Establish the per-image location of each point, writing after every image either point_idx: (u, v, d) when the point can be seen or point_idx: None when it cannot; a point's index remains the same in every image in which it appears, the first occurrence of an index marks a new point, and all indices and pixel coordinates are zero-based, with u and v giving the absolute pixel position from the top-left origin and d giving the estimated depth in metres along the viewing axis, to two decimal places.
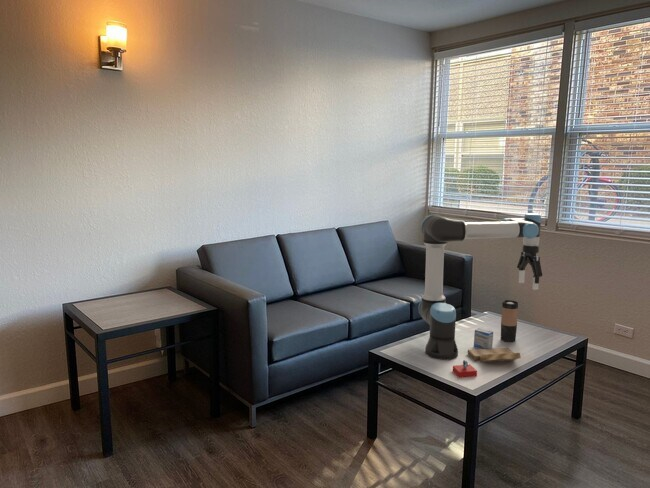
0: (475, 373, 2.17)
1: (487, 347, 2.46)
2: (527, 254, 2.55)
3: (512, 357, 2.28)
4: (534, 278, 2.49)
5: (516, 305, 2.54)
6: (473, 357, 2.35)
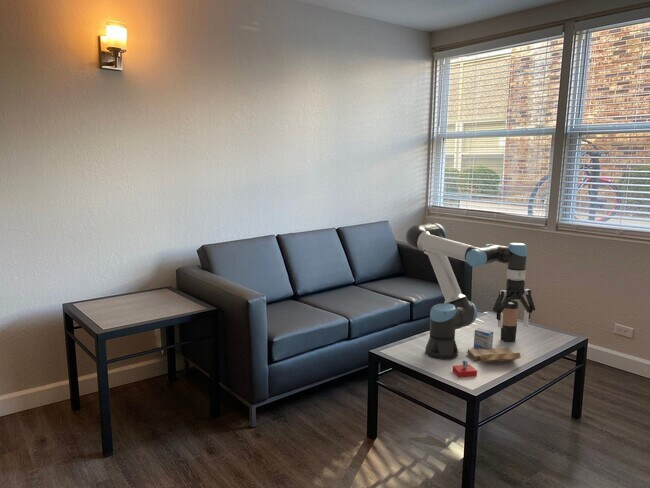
0: (475, 373, 2.18)
1: (487, 347, 2.46)
2: None
3: (512, 357, 2.28)
4: None
5: (516, 305, 2.54)
6: (473, 357, 2.35)
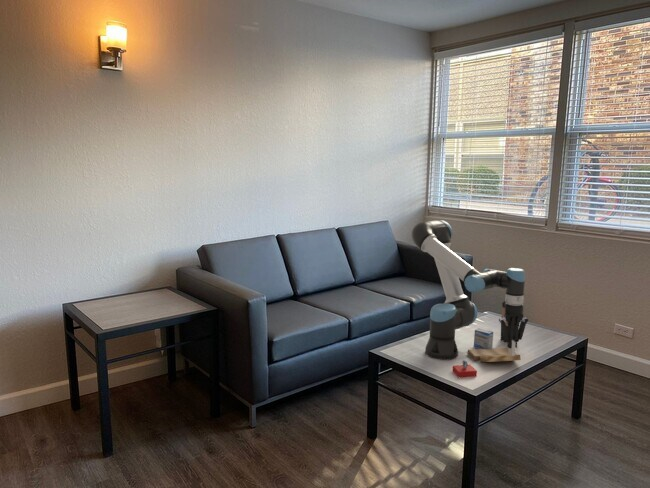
0: (474, 373, 2.18)
1: (487, 347, 2.46)
2: None
3: (512, 359, 2.28)
4: None
5: None
6: (473, 357, 2.35)
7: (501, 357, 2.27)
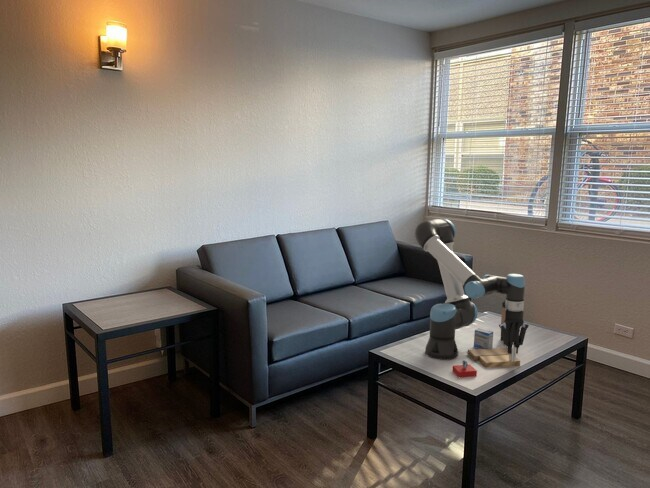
0: (474, 373, 2.18)
1: (487, 347, 2.46)
2: None
3: (511, 365, 2.28)
4: None
5: None
6: (473, 357, 2.35)
7: (501, 363, 2.27)
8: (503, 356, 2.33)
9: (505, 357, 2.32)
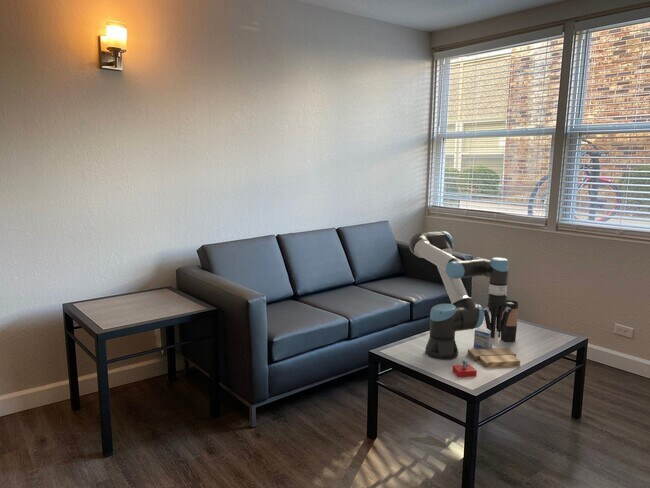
0: (474, 373, 2.18)
1: (487, 347, 2.46)
2: None
3: (511, 365, 2.28)
4: None
5: (516, 305, 2.54)
6: (473, 357, 2.35)
7: (501, 363, 2.27)
8: (503, 356, 2.33)
9: (505, 357, 2.32)
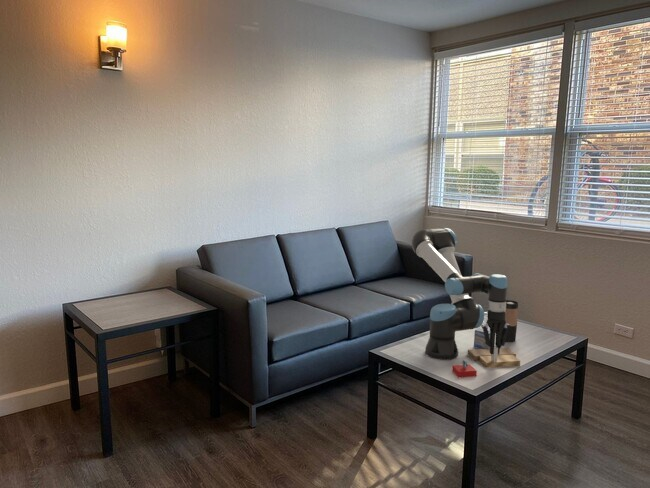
0: (474, 373, 2.18)
1: (487, 347, 2.46)
2: None
3: (511, 365, 2.28)
4: None
5: (516, 305, 2.54)
6: (473, 357, 2.35)
7: (501, 363, 2.27)
8: (503, 356, 2.33)
9: (505, 357, 2.32)
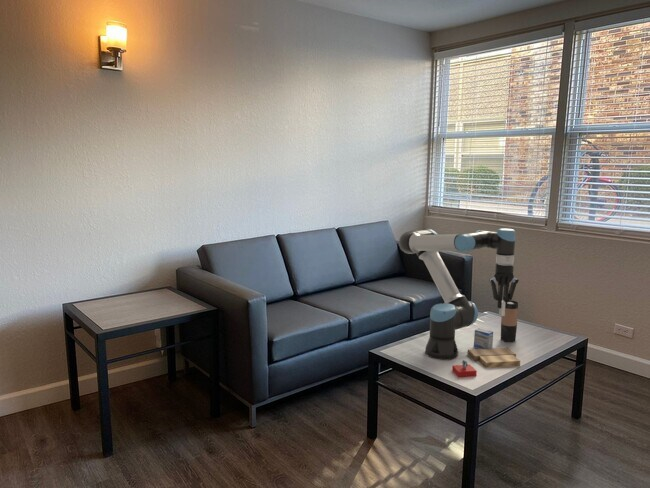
0: (474, 373, 2.18)
1: (487, 347, 2.46)
2: None
3: (511, 365, 2.28)
4: None
5: (516, 305, 2.54)
6: (473, 357, 2.35)
7: (501, 363, 2.27)
8: (503, 356, 2.33)
9: (505, 357, 2.32)
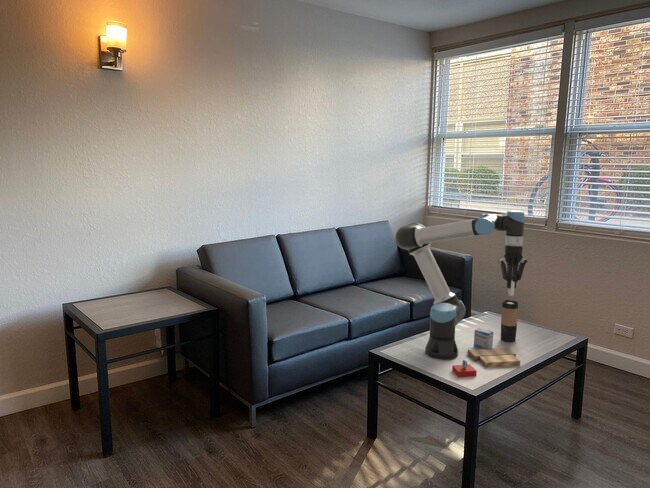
0: (474, 373, 2.18)
1: (487, 347, 2.46)
2: None
3: (511, 365, 2.28)
4: None
5: (516, 305, 2.54)
6: (473, 357, 2.35)
7: (501, 363, 2.27)
8: (503, 356, 2.33)
9: (505, 357, 2.32)
